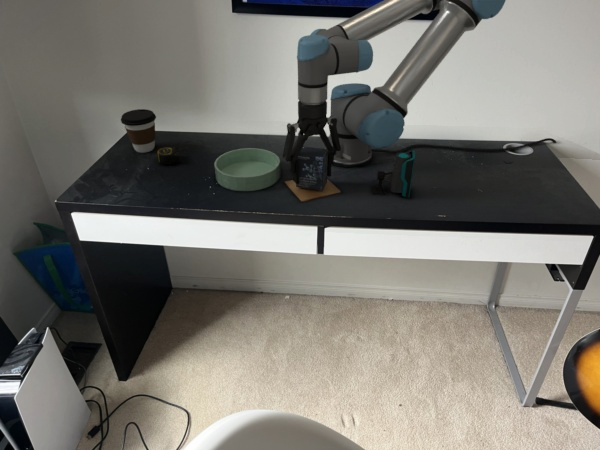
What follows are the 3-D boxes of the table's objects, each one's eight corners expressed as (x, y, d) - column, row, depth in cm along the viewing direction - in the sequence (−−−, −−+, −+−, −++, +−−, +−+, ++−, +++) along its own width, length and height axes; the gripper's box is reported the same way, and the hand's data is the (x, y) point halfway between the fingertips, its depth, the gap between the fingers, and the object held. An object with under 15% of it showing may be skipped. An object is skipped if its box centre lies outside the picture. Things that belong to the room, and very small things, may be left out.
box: (295, 187, 134) (295, 153, 128) (301, 178, 138) (301, 145, 132) (322, 191, 132) (323, 157, 126) (327, 182, 136) (328, 148, 130)
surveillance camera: (377, 147, 129) (414, 149, 128) (373, 185, 136) (409, 188, 135) (376, 156, 125) (415, 158, 123) (372, 195, 131) (409, 198, 130)
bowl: (266, 156, 153) (265, 143, 150) (290, 182, 138) (290, 168, 136) (208, 168, 146) (206, 155, 144) (227, 197, 132) (225, 182, 129)
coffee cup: (136, 141, 164) (128, 107, 157) (166, 142, 162) (160, 109, 156) (122, 155, 155) (113, 120, 148) (154, 156, 153) (146, 121, 147)
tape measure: (180, 164, 149) (179, 153, 146) (158, 167, 147) (156, 156, 145) (178, 155, 154) (176, 145, 152) (157, 158, 152) (155, 148, 150)
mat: (321, 174, 142) (321, 173, 142) (340, 192, 133) (340, 191, 133) (284, 182, 138) (284, 181, 138) (301, 201, 129) (301, 200, 129)
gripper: (342, 90, 128) (339, 165, 140) (267, 102, 120) (270, 180, 133) (357, 98, 122) (352, 175, 135) (278, 111, 115) (281, 192, 127)
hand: (311, 177), depth 134 cm, fingers closed on box, 9 cm apart
